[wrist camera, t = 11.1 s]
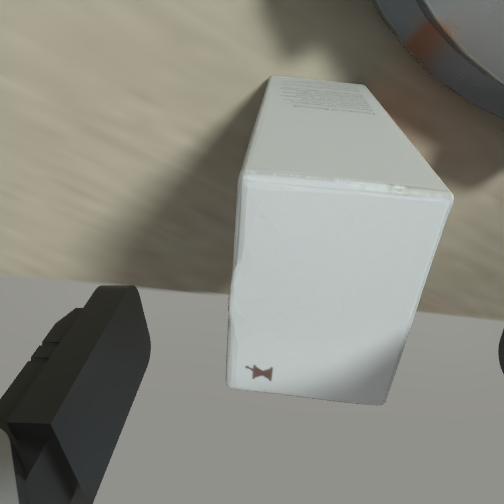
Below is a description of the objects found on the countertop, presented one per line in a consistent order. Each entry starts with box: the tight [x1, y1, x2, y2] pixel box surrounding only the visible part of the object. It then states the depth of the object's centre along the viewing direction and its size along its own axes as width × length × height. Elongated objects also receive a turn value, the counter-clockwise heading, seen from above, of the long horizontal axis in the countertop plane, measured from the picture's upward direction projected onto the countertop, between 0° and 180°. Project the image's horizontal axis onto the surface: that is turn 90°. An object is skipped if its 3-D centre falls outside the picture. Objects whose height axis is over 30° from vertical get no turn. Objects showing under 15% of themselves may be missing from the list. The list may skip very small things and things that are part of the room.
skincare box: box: [226, 76, 454, 405], centre depth 14 cm, size 6×4×12 cm
